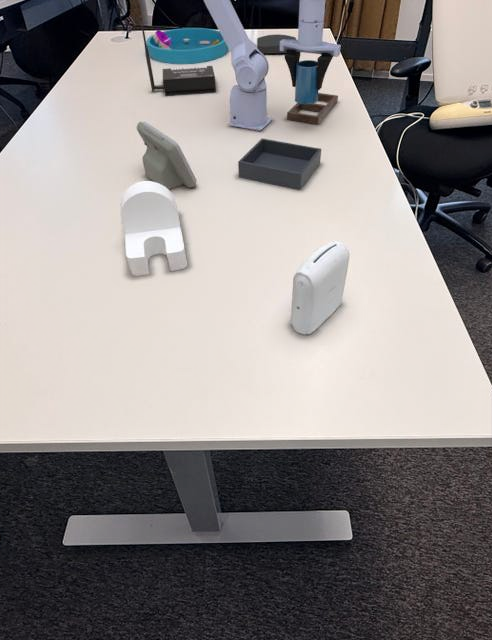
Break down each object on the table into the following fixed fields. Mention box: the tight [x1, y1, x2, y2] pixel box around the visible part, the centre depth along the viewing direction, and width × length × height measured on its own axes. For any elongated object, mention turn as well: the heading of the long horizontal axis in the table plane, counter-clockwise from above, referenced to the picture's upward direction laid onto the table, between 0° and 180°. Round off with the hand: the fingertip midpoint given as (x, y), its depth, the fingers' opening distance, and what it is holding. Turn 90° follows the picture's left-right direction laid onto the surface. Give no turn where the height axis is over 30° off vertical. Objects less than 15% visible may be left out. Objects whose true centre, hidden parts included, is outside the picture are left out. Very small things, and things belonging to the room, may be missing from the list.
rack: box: [286, 92, 339, 125], centre depth 124 cm, size 9×17×2 cm, turn 156°
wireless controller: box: [140, 24, 217, 97], centre depth 132 cm, size 20×14×17 cm
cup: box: [294, 59, 319, 104], centre depth 108 cm, size 6×6×8 cm
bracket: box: [119, 180, 188, 277], centre depth 79 cm, size 19×10×11 cm, turn 12°
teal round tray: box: [146, 27, 229, 65], centre depth 161 cm, size 30×30×6 cm
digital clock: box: [136, 121, 197, 191], centre depth 96 cm, size 16×9×11 cm, turn 26°
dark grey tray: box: [237, 138, 322, 191], centre depth 100 cm, size 15×13×4 cm
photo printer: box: [290, 240, 351, 336], centre depth 65 cm, size 10×4×12 cm, turn 140°
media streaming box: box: [256, 34, 297, 54], centre depth 162 cm, size 15×15×3 cm
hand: (307, 87), depth 109 cm, fingers closed on cup, 6 cm apart
